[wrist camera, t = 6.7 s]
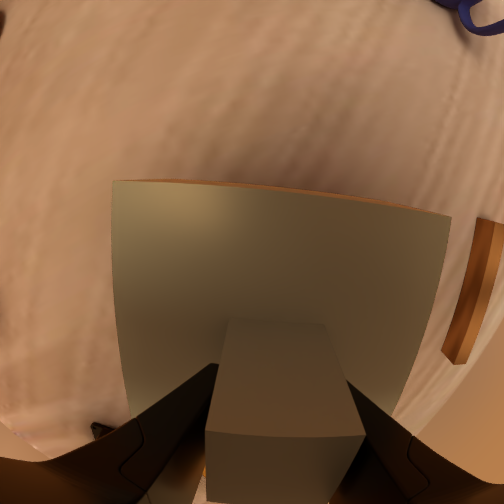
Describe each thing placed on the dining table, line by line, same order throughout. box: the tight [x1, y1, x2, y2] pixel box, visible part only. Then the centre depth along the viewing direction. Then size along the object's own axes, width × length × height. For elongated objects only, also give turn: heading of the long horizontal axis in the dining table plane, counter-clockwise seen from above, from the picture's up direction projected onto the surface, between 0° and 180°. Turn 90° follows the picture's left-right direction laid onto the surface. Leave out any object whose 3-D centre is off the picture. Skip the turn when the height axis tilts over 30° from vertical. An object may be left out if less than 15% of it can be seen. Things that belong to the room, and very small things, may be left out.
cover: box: [111, 179, 452, 504], centre depth 10 cm, size 10×10×10 cm
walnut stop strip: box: [441, 218, 504, 365], centre depth 19 cm, size 12×2×2 cm, turn 174°
